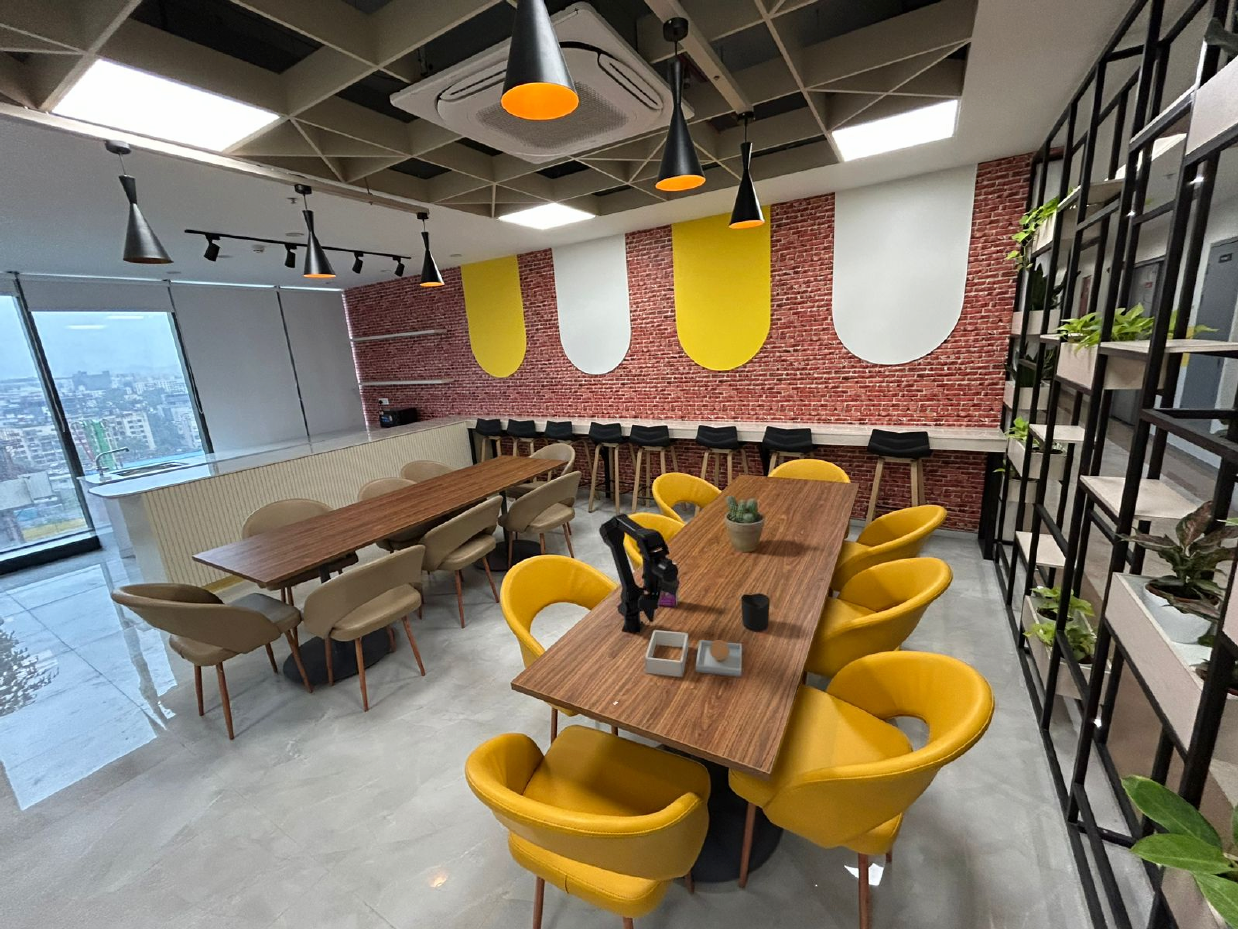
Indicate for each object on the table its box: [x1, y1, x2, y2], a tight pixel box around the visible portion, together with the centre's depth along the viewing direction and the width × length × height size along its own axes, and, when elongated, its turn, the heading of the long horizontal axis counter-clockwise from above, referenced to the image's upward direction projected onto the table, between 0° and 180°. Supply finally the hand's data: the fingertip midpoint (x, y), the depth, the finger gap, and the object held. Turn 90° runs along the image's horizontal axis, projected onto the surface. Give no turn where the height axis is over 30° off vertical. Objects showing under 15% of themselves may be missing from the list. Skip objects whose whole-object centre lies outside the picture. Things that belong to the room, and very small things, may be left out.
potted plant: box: [724, 495, 766, 553], centre depth 232 cm, size 18×19×25 cm
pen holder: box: [740, 593, 771, 632], centre depth 171 cm, size 9×9×10 cm
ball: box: [710, 639, 729, 661], centre depth 154 cm, size 6×6×6 cm
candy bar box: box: [647, 562, 679, 608], centre depth 189 cm, size 11×5×16 cm, turn 74°
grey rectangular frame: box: [644, 629, 690, 678], centre depth 156 cm, size 15×11×5 cm
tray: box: [695, 639, 743, 678], centre depth 155 cm, size 13×13×2 cm
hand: (654, 614), depth 161 cm, fingers open, 9 cm apart
